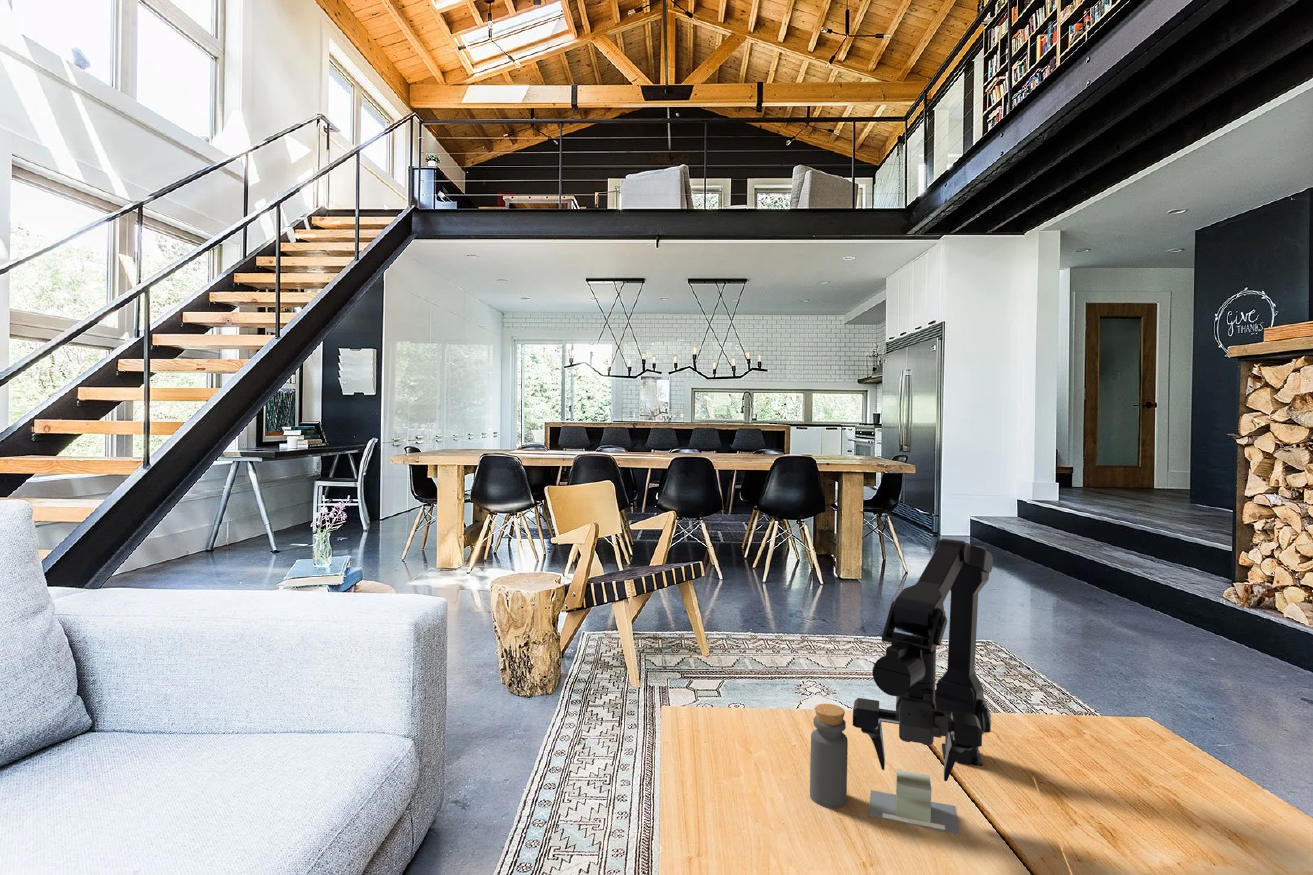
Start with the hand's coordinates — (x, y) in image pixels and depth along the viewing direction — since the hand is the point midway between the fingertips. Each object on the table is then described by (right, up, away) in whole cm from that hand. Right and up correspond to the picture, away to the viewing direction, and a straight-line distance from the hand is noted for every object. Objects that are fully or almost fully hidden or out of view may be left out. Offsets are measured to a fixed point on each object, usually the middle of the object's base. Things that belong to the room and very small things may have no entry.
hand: (913, 774), depth 106 cm
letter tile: (0, -6, 0) cm, 6 cm away
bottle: (-13, -6, +3) cm, 15 cm away
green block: (0, -6, 0) cm, 6 cm away
